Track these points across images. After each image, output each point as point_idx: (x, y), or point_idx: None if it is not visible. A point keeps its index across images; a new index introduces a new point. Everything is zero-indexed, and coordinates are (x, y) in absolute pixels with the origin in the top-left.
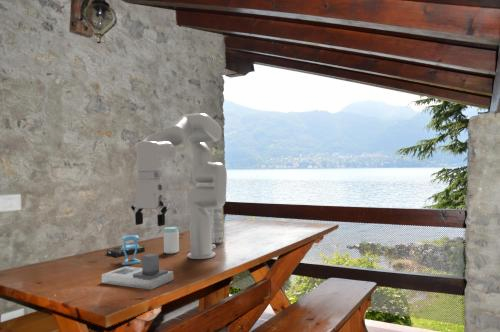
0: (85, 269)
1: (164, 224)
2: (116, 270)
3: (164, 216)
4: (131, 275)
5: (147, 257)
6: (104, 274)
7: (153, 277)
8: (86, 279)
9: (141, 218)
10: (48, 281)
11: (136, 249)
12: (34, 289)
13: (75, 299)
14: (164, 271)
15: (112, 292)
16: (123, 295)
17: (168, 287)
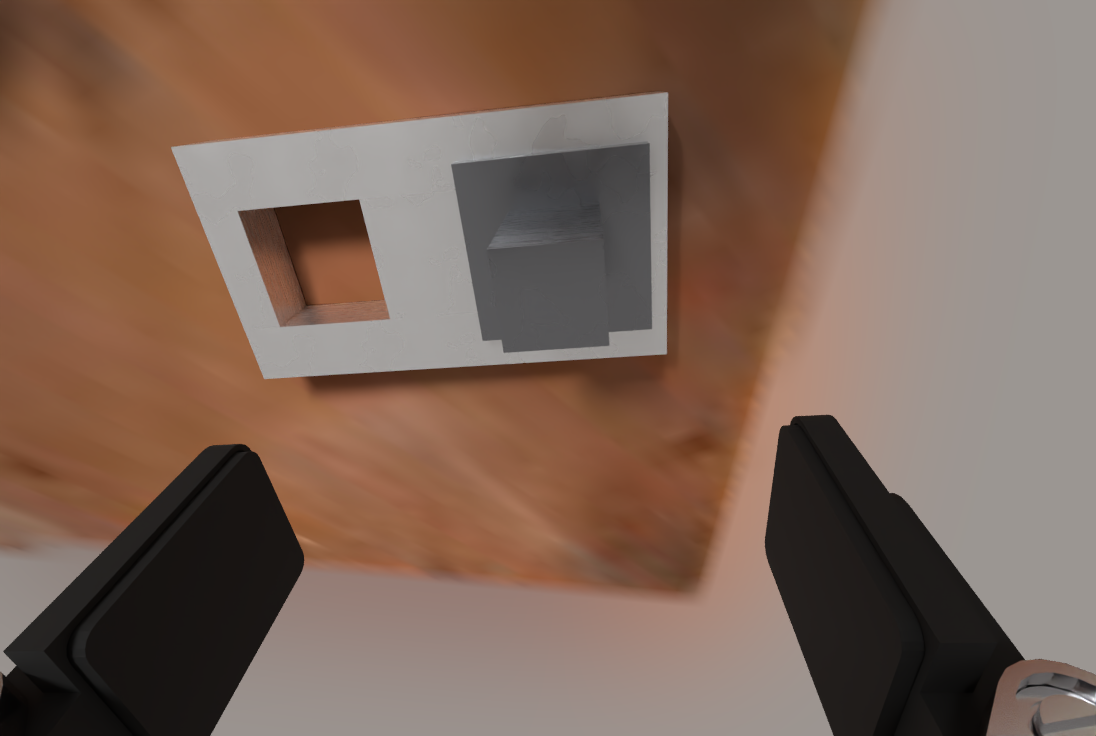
0: None
1: (827, 422)
2: (244, 273)
3: (982, 620)
4: (453, 321)
5: (566, 344)
6: (280, 372)
7: (650, 317)
8: (144, 343)
9: (200, 558)
10: (37, 442)
11: None
12: None
13: (434, 543)
14: (646, 187)
15: (495, 435)
16: (584, 444)
17: (734, 251)
